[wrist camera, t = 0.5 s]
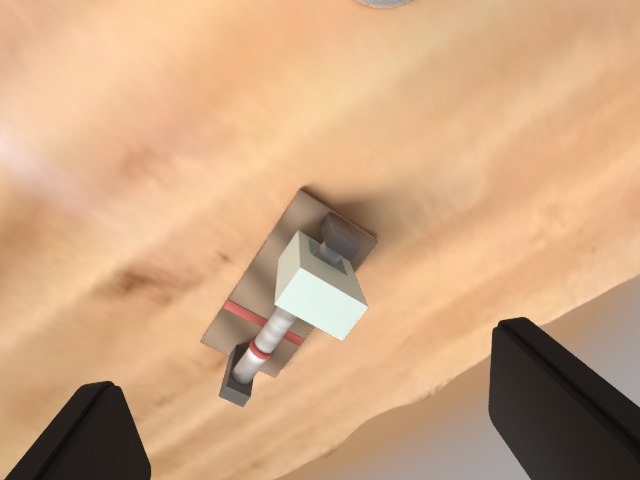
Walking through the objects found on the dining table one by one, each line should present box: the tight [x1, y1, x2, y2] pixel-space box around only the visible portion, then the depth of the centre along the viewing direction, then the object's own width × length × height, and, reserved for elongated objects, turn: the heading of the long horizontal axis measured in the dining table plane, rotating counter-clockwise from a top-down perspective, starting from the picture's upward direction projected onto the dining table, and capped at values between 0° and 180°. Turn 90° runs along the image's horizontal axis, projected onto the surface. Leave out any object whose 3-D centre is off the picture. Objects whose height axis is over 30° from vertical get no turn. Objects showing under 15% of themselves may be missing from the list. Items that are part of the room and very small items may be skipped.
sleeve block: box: [274, 230, 368, 341], centre depth 34 cm, size 4×7×10 cm, turn 56°
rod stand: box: [200, 189, 378, 407], centre depth 38 cm, size 23×11×8 cm, turn 146°
